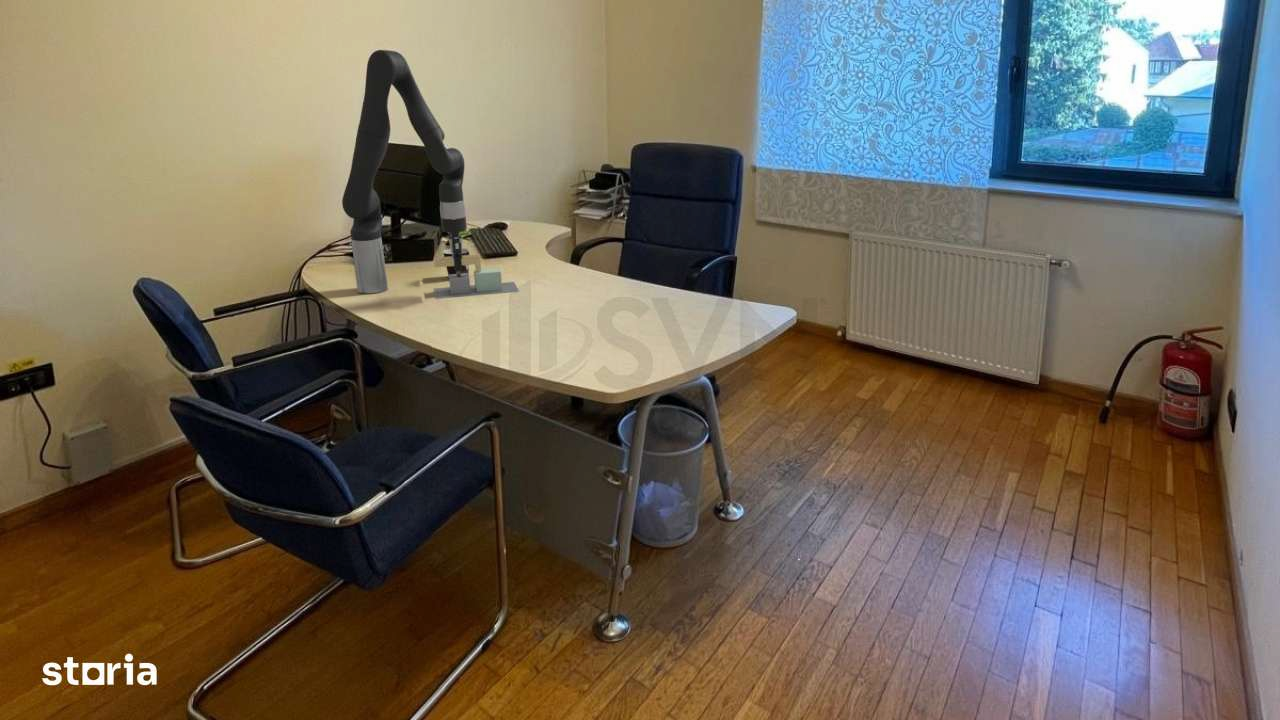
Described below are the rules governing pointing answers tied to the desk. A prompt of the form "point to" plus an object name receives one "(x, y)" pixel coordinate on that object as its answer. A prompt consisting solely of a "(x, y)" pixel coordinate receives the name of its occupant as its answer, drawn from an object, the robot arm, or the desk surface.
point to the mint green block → (488, 280)
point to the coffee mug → (451, 268)
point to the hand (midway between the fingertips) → (458, 269)
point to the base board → (473, 291)
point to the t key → (465, 261)
